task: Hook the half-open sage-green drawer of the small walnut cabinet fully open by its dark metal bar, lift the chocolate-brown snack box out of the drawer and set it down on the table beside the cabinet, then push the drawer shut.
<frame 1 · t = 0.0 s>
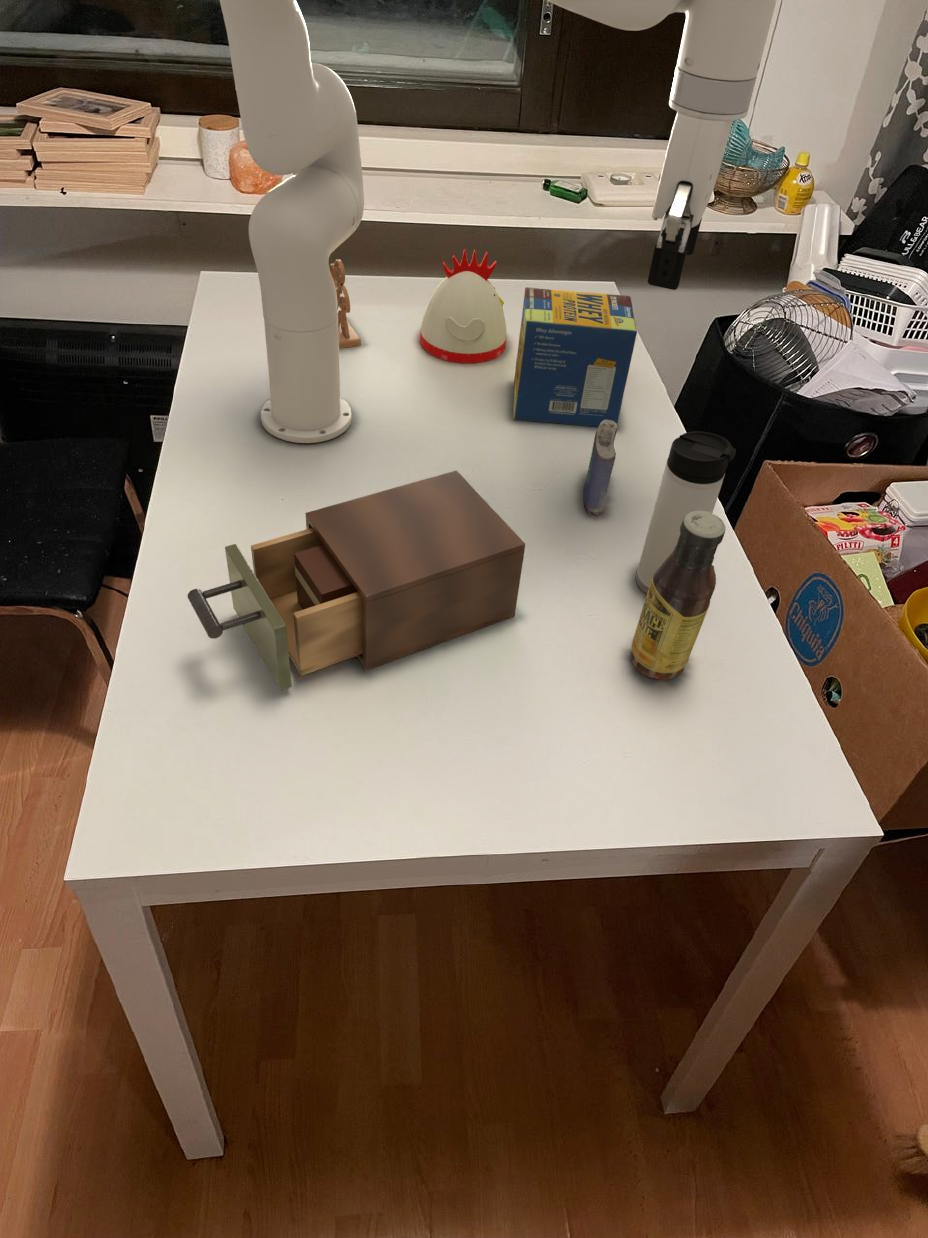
hand: (670, 268, 99), 31 cm above the table, tool pointing down, fingers open, 9 cm apart
travel mug: (662, 584, 110), on the table
wooden sculpture: (340, 335, 148), on the table
flask: (593, 496, 122), on the table
snack box: (327, 616, 99), point 2 cm above the table, touching drawer
sauce bottle: (656, 664, 100), on the table
cabinet: (411, 601, 105), on the table
drawer: (307, 600, 96), point 5 cm above the table, slide at 8.0 cm, touching snack box
protein box: (563, 407, 137), on the table
kitchen timer: (462, 342, 149), on the table
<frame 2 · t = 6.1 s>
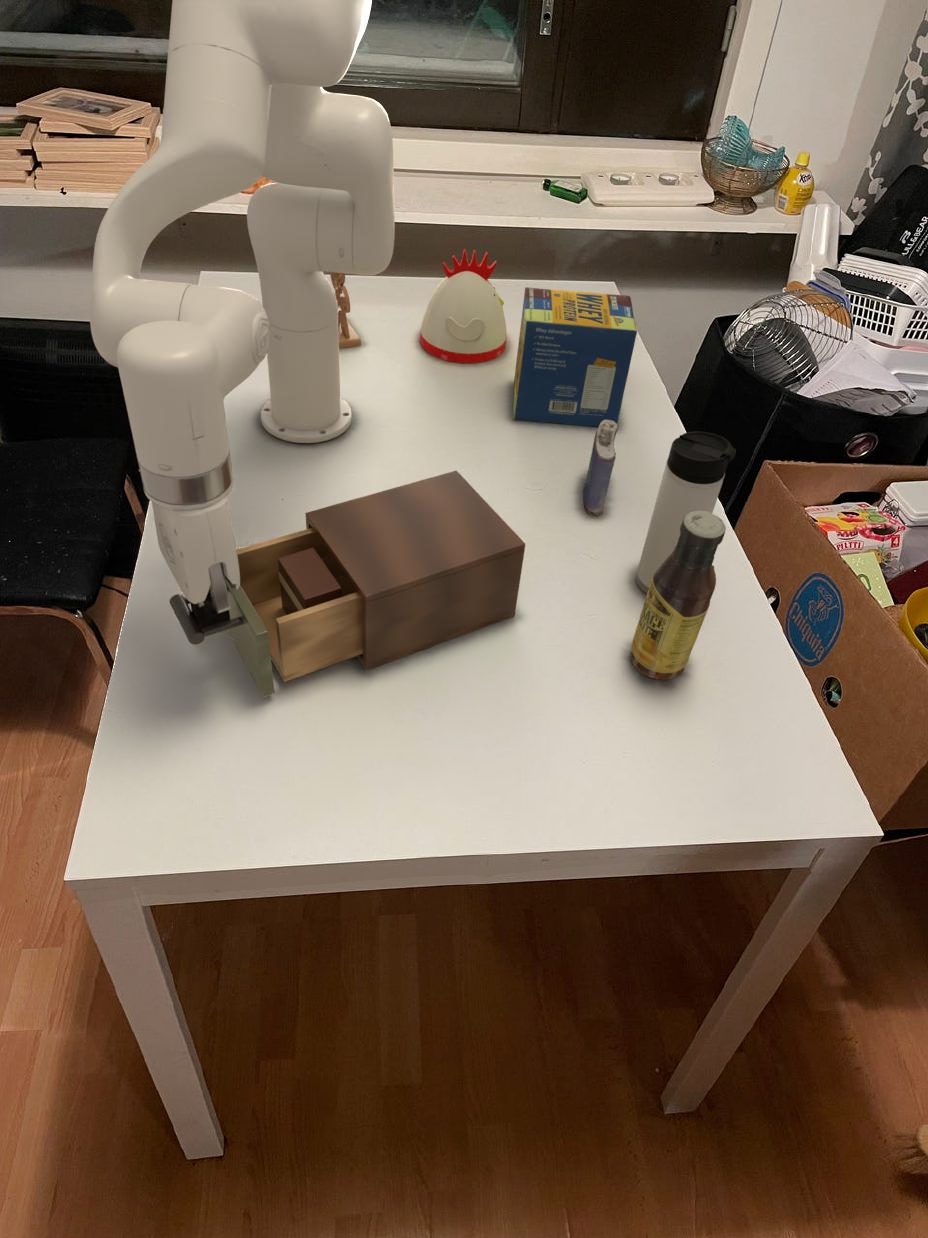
hand: (212, 623, 91), 6 cm above the table, tool pointing down, fingers closed
snack box: (312, 621, 98), point 2 cm above the table, touching drawer
drawer: (291, 605, 95), point 5 cm above the table, slide at 9.8 cm, touching gripper, snack box
everything else where it was.
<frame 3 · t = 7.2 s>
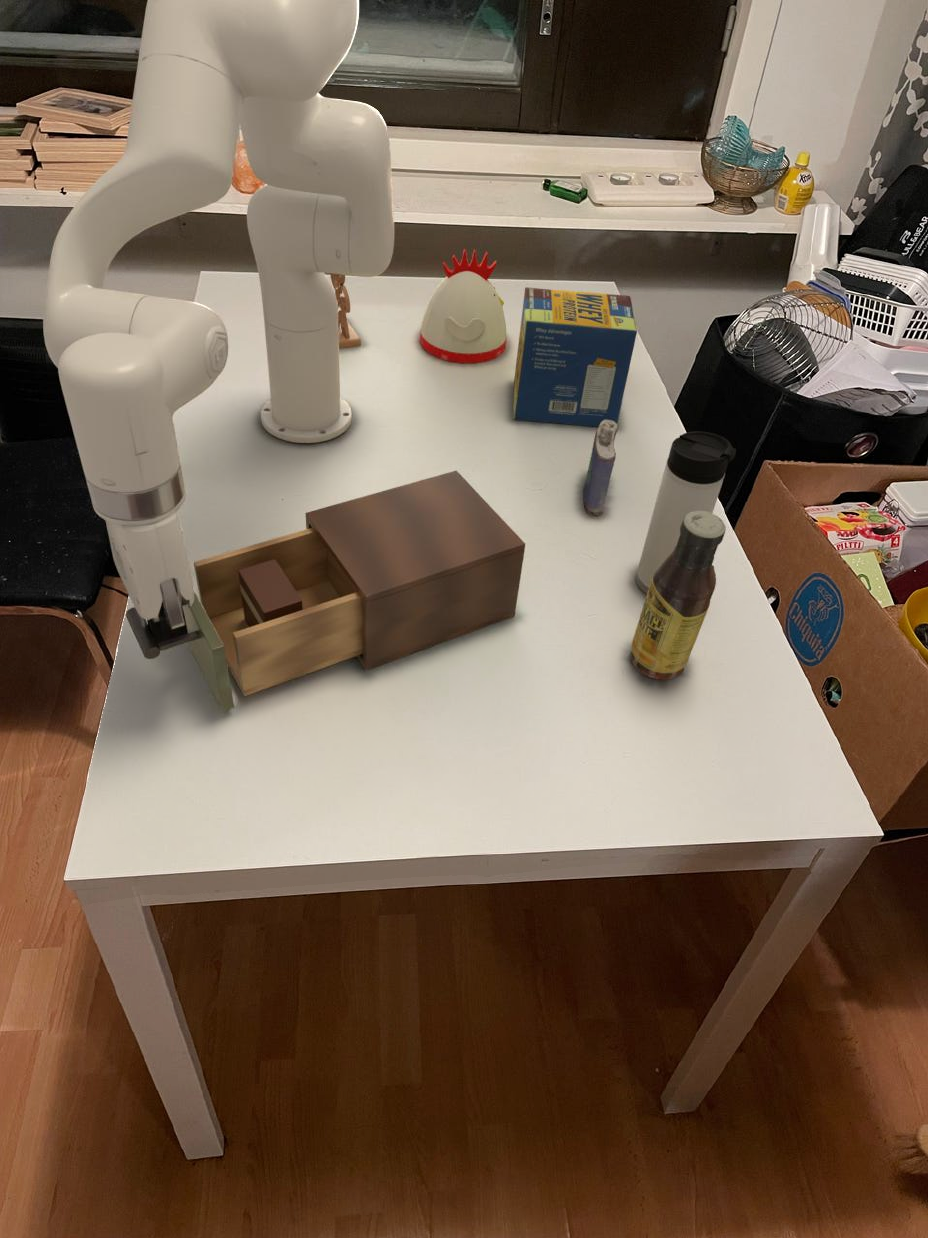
hand: (170, 638, 89), 6 cm above the table, tool pointing down, fingers closed
snack box: (274, 634, 97), point 2 cm above the table, touching drawer
drawer: (252, 618, 93), point 5 cm above the table, slide at 14.0 cm, touching gripper, snack box
everything else where it was.
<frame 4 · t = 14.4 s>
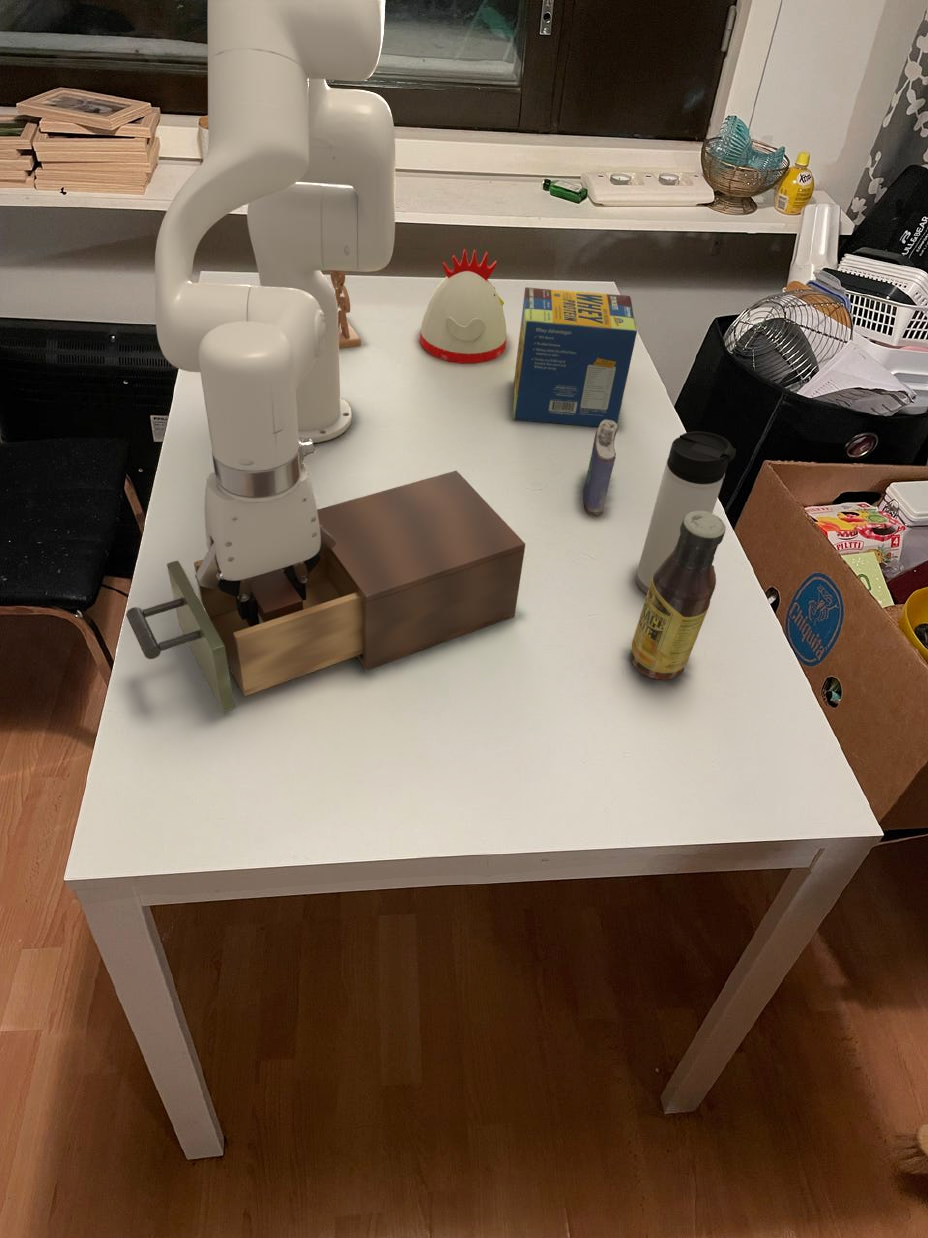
hand: (272, 611, 94), 5 cm above the table, tool pointing down, fingers closed on snack box, 4 cm apart
snack box: (275, 634, 97), point 2 cm above the table, touching drawer, gripper
drawer: (253, 617, 93), point 5 cm above the table, slide at 14.0 cm, touching snack box
everything else where it was.
when the fingers open (3 cm above the table, at t = 21.5 s): snack box stays where it is, on the table.
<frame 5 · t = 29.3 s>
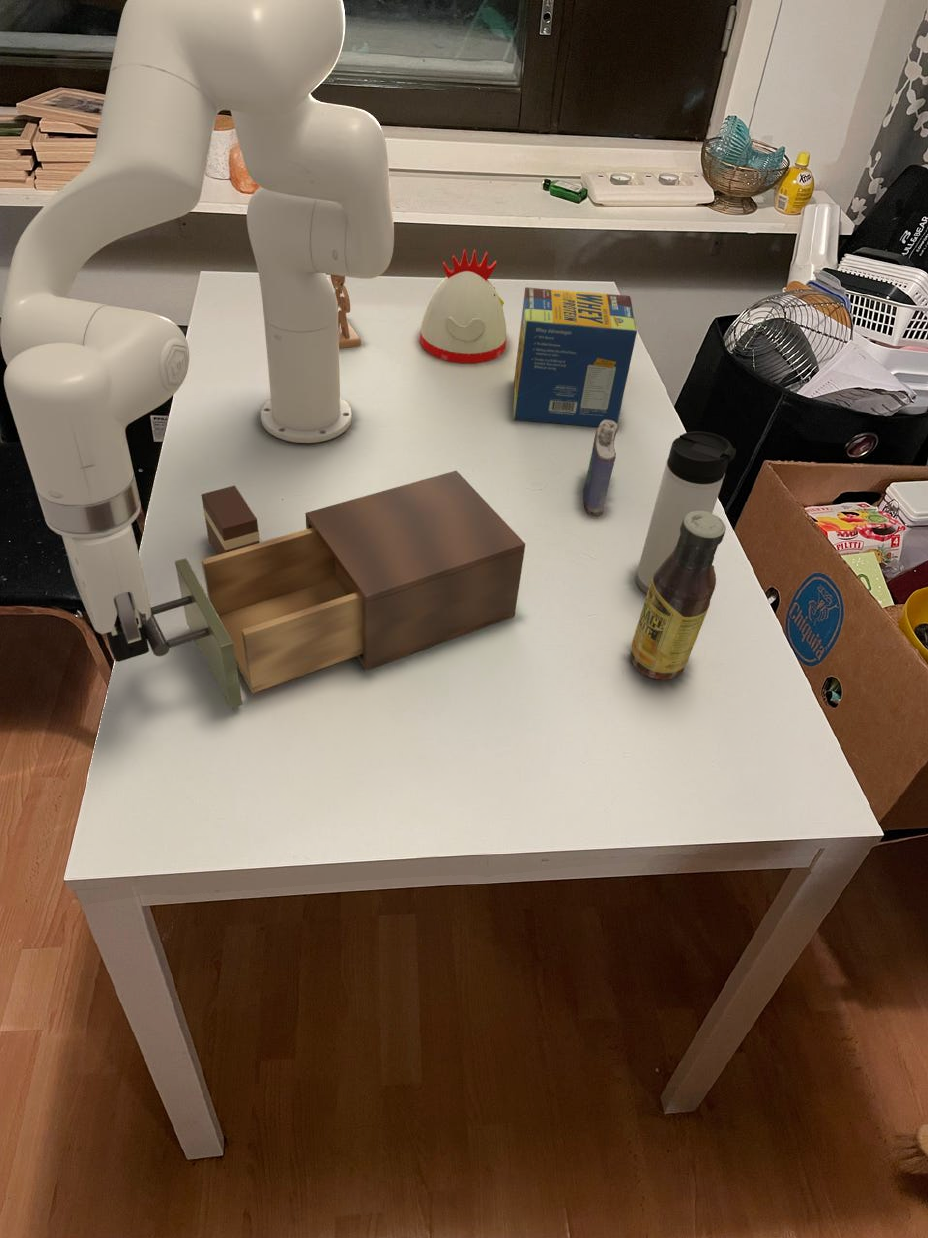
hand: (130, 651, 88), 6 cm above the table, tool pointing down, fingers closed
snack box: (235, 553, 108), on the table
drawer: (260, 615, 94), point 5 cm above the table, slide at 13.2 cm, touching gripper
everything else where it was.
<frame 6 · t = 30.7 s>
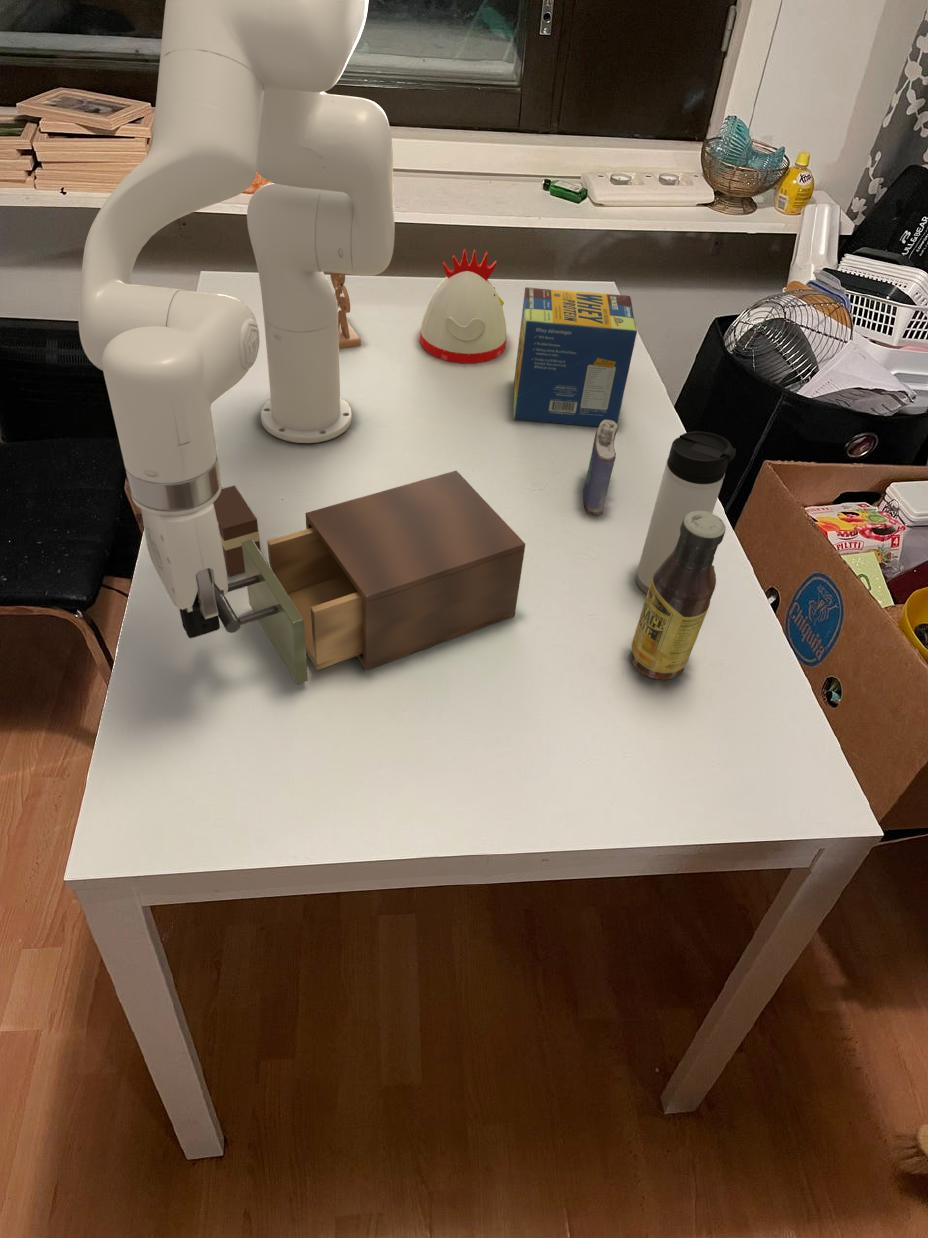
hand: (201, 628, 91), 6 cm above the table, tool pointing down, fingers closed
drawer: (323, 595, 97), point 5 cm above the table, slide at 6.2 cm, touching gripper
everything else where it was.
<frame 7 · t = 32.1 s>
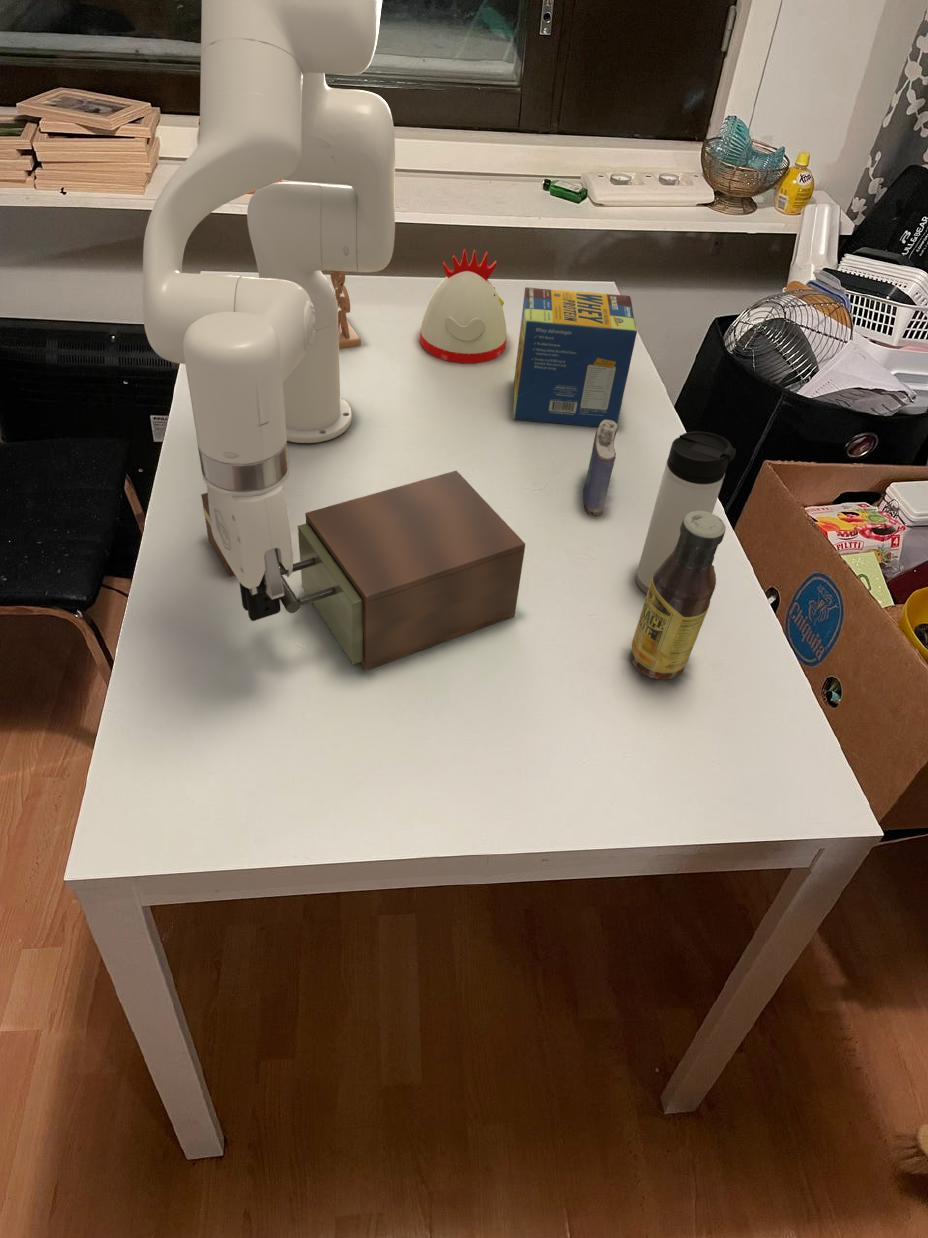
hand: (261, 609, 93), 6 cm above the table, tool pointing down, fingers closed
drawer: (376, 577, 99), point 5 cm above the table, slide at 0.0 cm, touching cabinet, gripper
everything else where it was.
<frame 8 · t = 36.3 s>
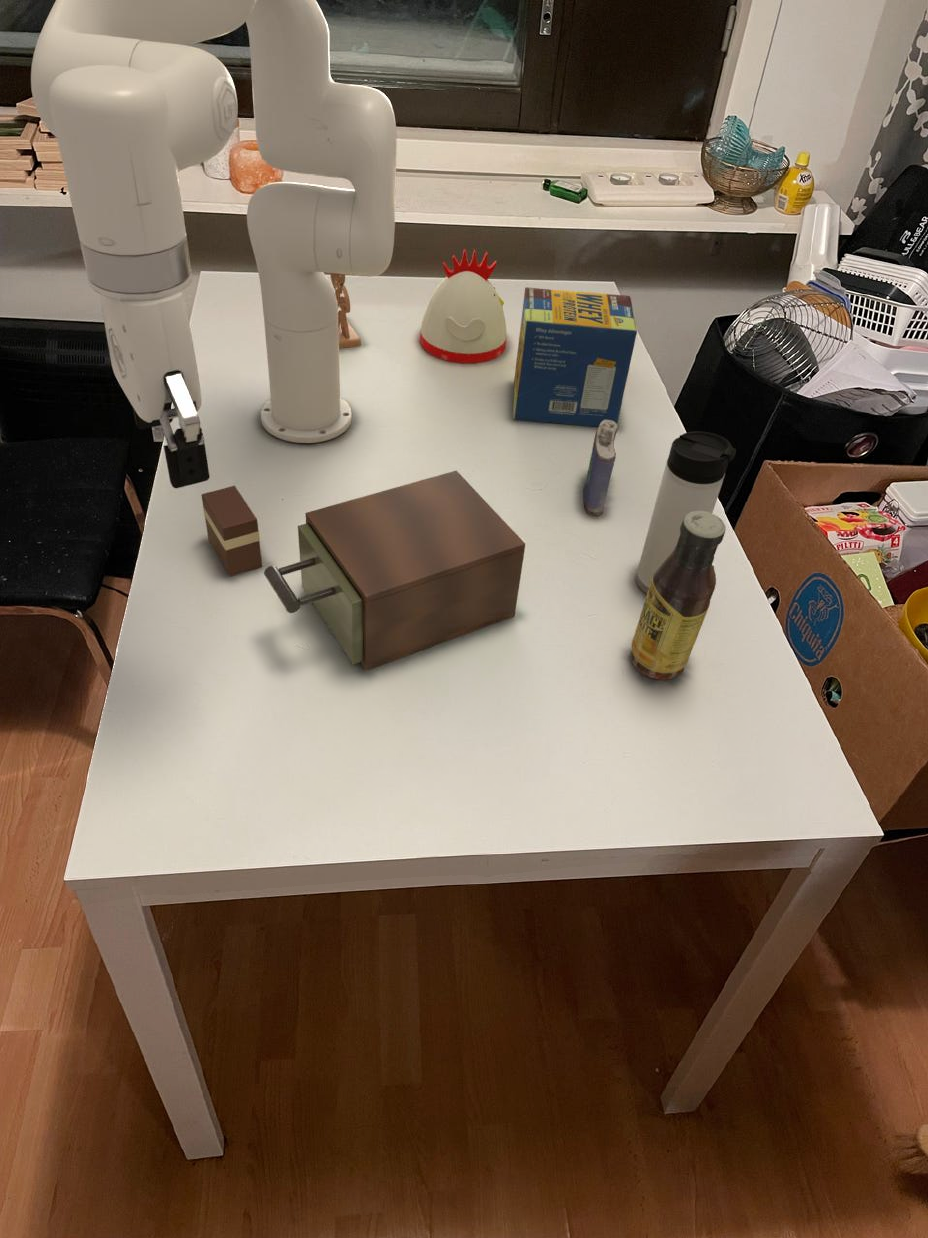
hand: (172, 452, 81), 24 cm above the table, tool pointing down, fingers open, 9 cm apart
drawer: (376, 577, 99), point 5 cm above the table, slide at 0.0 cm, touching cabinet
everything else where it was.
at the end: snack box inside the target area (0.2 cm from its centre), on the table; drawer slide at 0.0 cm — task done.
